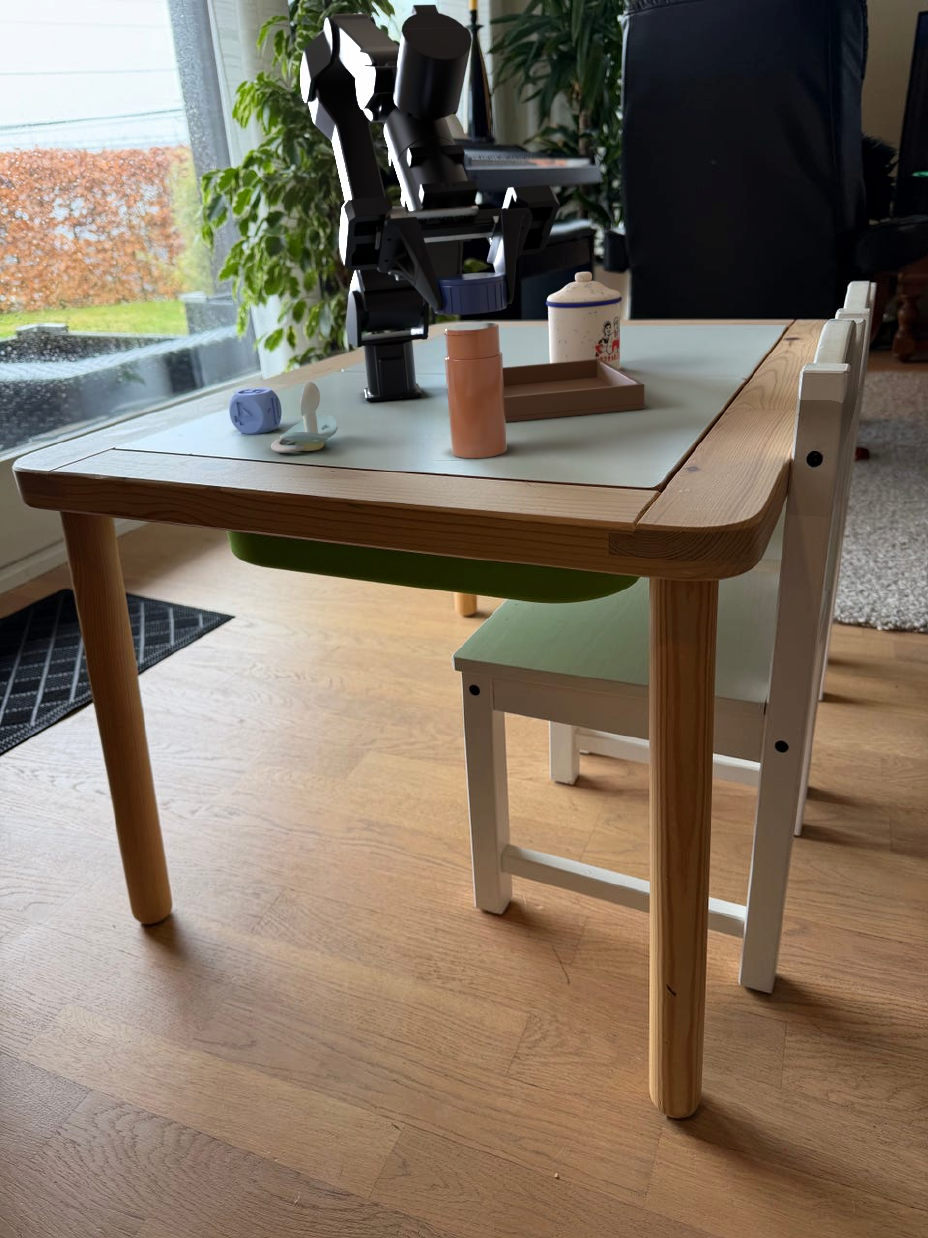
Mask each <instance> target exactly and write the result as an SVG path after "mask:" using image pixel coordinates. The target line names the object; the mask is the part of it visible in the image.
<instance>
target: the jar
mask: <svg viewBox="0 0 928 1238" xmlns="http://www.w3.org/2000/svg"><path fill="white" fill-rule="evenodd" d="M443 335H444V336H445V346H446V355H445V357H444V364H445V377H446V390H447V391H446V392H447V407H448V419H449V432H450V433H449V434H450V446H451V447H450V448H451V455H453V456H455V457H457V458H461V459H462V458H463V459H484V458H492V457H496V456H500V455H502V454H504V453H506V452H507V451H508V439H507V422H506V418H505V398H504V377H503V367H504V357H503V352H501V344H500V325H499V324H498V323H495V322H468V323H467V322H466V323H459V324H454V325H449V326H446V327H445V328H444V332H443Z"/></svg>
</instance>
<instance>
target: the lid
mask: <svg viewBox="0 0 928 1238" xmlns="http://www.w3.org/2000/svg"><path fill="white" fill-rule="evenodd" d="M437 280H438V283H439V287H440V292H441V297H442V309H441V311H435V310H434V308H433V307H432V309H433V310H432V311H434V314H437V315H440V316H441V315H442V316H443V315H444V316H463V315H464V316H465V315H477V314H486V313H492V312H497V311H501V310H504V309H507V306H508V304H507V298H506V281H505V274H504V273H496V272H473V273H471V272H469V273H462V274H458V275H449V276H442V277H437Z"/></svg>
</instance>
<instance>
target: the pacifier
mask: <svg viewBox="0 0 928 1238" xmlns="http://www.w3.org/2000/svg"><path fill="white" fill-rule="evenodd" d="M320 402H321V393H320V390H319V387H318V386H317V384H316V383H314V382H312V381H310V380H309V381H306V383H305V384H304V386H303V389H302V393H301V396H300V406H299V407H300V415H301V416H302V420H300V421H299V422H297V423H296V424H295V425H293V426H292V427H291V428H289V429H288V430H287V431H285V432H284V433H283V434H281V435H280V436H279V438H277V439H276V440H274V441H273V442H272V443H271V445H270V448H271V450H272V451H274V452H276V453H283V454H286V453H295V452H311V451H318V450H320V449H322V448H323V447H324V446H325V441H327V440H328V439H329V438H331V437H333V436H334V435H335V434H336V433H337V431H338V421H337V420H336V419H335V417H333V416H332V415H328V414H317V413H316V411H317V409H318V408H319V406H320ZM292 442H295V444H289V445H288V443H292Z"/></svg>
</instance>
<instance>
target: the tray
mask: <svg viewBox="0 0 928 1238" xmlns="http://www.w3.org/2000/svg"><path fill="white" fill-rule="evenodd" d="M503 377H504V398H505V418H506V423H511V422H522V421H533V420H534V421H535V420H542V419H552V418H563V417H575V416H583V415H595V414H605V413H615V412H625V411H636V410H637V411H638V410H644V409H645V384H644V383H643V382H641V381H640V380H638V379H636V378H635V377H633V376H631V375H629V374H627V373H626V372H624V371H622V370H621V369H620V368H619V369H617V368H616V367H614V366H612V365H610V364H609V363H607V362H605V361H604V360H602V359H591V360H580V361H569V362H558V363H550V362H548V363H536V364H526V365H515V366H503Z"/></svg>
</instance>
